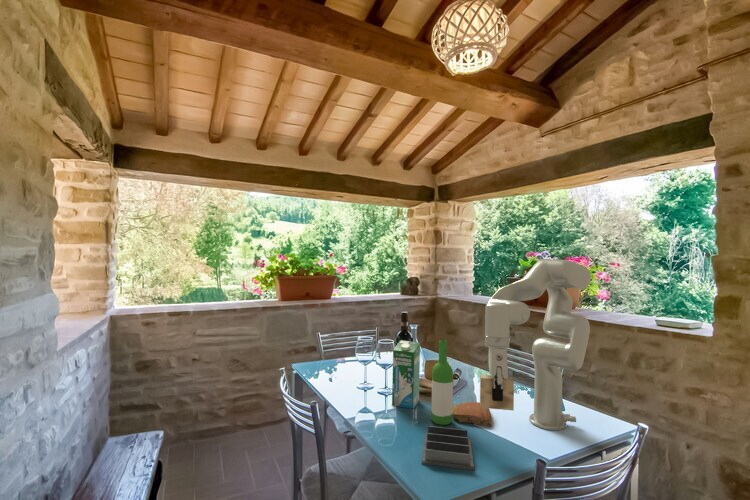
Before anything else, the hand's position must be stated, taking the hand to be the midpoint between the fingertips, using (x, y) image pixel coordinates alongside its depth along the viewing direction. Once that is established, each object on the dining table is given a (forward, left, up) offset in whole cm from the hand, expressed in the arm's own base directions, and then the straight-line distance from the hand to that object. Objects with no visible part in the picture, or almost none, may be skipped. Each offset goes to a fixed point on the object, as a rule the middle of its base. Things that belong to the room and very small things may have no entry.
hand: (496, 397), depth 121 cm
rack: (+15, +5, -17) cm, 23 cm away
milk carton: (+32, -31, -17) cm, 48 cm away
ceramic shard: (+6, -24, -17) cm, 30 cm away
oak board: (0, 0, -3) cm, 3 cm away
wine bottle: (+17, -17, -17) cm, 29 cm away
